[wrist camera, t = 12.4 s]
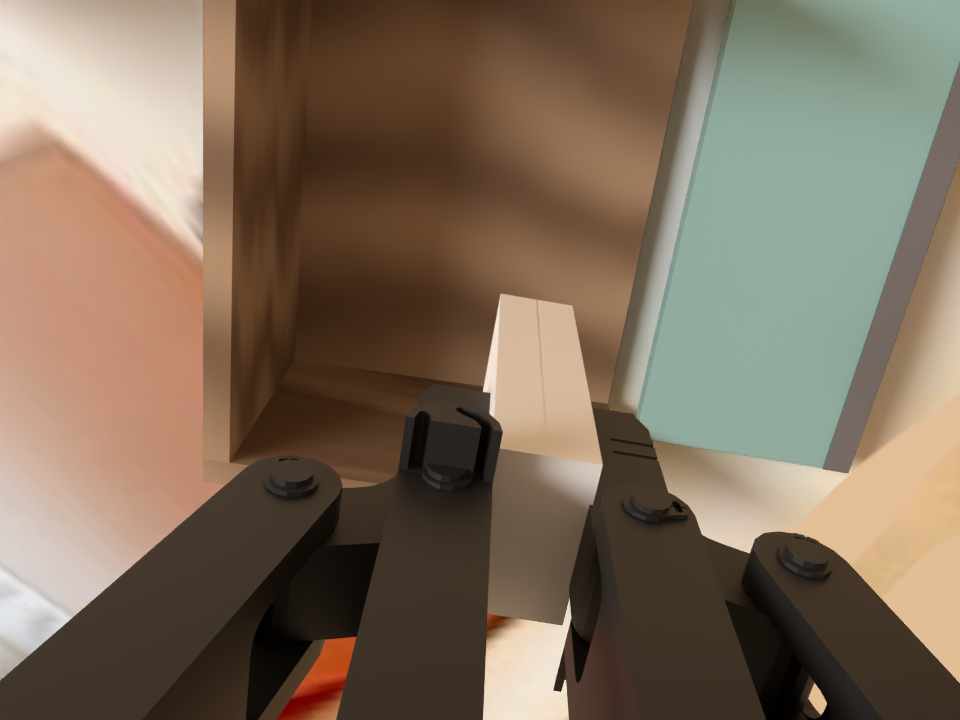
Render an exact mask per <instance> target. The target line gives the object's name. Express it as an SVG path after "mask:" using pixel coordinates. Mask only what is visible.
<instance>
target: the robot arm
mask: <svg viewBox="0 0 960 720" xmlns="http://www.w3.org/2000/svg"><path fill="white" fill-rule="evenodd" d="M342 486H343V485H342V482H341V479H340V475H339V474H338V473H337V472H336V471H334V470H333V469H332V468H331V467H330V466H329V465H326V464H324V463H322V462H319V461H317V460H315V459H311V458H305V457H301V456H296V455H290V456H287V455H282V456H274V457H270V458H266V459H262V460H258V461H257V462H255V463H253V464H251V465H249V466H248V467H246V468H245V469H244V470H242V471H241V472H240V473H239V474H238V475H237V476H235V477H234V478H233V479H232V480H231V481H230V482H229V483H227V484H226V485H225V486H224V487H223V488H222V489H221V490H219V491H218V492H217V493H216V494H215V495H214V496H212V497H211V498H210V499H209V500H208V501H207V502H206V503H204V504H203V505H202V506H201V507H200V508H199V509H197V510H196V511H195V512H194V513H193V514H192V515H191V516H189V517H188V518H187V519H186V520H185V521H184V522H182V523H181V524H180V525H179V526H178V527H177V528H176V529H174V530H173V531H172V532H171V533H170V534H169V535H168V536H166V537H165V538H164V539H163V540H162V541H161V542H159V543H158V544H157V545H156V546H155V547H154V548H153V549H151V550H150V551H149V552H148V553H147V554H146V555H144V556H143V557H142V558H141V559H140V560H139V561H138V562H136V563H135V564H134V565H133V566H132V567H131V568H130V569H128V570H127V571H126V572H125V573H124V574H123V575H121V576H120V577H119V578H118V579H117V580H116V581H115V582H113V583H112V584H111V585H110V586H109V587H108V588H106V589H105V590H104V591H103V592H102V593H101V594H100V595H98V596H97V597H96V598H95V599H94V600H93V601H91V602H90V603H89V604H88V605H87V606H86V607H85V608H83V609H82V610H81V611H80V612H79V613H78V614H77V615H75V616H74V617H73V618H72V619H71V620H70V621H68V622H67V623H66V624H65V625H64V626H63V627H62V628H60V629H59V630H58V631H57V632H56V633H55V634H53V635H52V636H51V637H50V638H49V639H48V640H47V641H45V642H44V643H43V644H42V645H41V646H40V647H39V648H37V649H36V650H35V651H34V652H33V653H32V654H30V655H29V656H28V657H27V658H26V659H25V660H24V661H22V662H21V663H20V664H19V665H18V666H17V667H15V668H14V669H13V670H12V671H11V672H10V673H9V674H7V675H6V676H5V677H4V678H3V679H2V680H0V720H276V719H277V718H278V716H279V715H280V713H281V712H282V710H283V709H284V707H285V706H286V704H287V703H288V702H289V700H290V699H291V697H292V696H293V694H294V693H295V691H296V690H297V688H298V687H299V685H300V684H301V682H302V681H303V679H304V678H305V676H306V675H307V673H308V672H309V670H310V669H311V668H312V666H313V665H314V663H315V662H316V660H317V659H318V657H319V656H320V653H321V651H322V648H323V645H324V641H325V639H336V638H347V637H357V638H356V642H355V646H354V650H353V654H352V658H351V662H350V666H349V670H348V674H347V678H346V682H345V687H344V691H343V695H342V699H341V703H340V707H339V711H338V715H337V719H336V720H483V704H484V680H485V656H486V633H487V614H493V615H500V616H506V617H513V618H519V619H525V620H532V621H538V622H544V623H551V624H557V625H563V621H564V617H565V613H566V609H567V605H568V601H569V597H570V606H571V617H572V618H571V622H570V626H569V630H568V634H567V638H566V642H565V646H564V650H563V653H562V657H561V661H560V665H559V669H558V673H557V677H556V681H555V686H554V690H553V691H560V692H561V690H562V687H563V683H564V680H566V683H567V697H568V711H569V720H960V683H959V682H958V681H957V680H956V679H955V678H954V677H953V676H952V674H951V673H950V672H949V671H948V670H947V669H946V668H945V667H944V666H943V665H942V664H941V663H940V662H939V661H938V659H937V658H936V657H935V656H934V655H933V654H932V653H931V652H930V651H929V650H928V649H927V648H926V646H925V645H924V644H923V643H922V642H921V641H920V640H919V639H918V638H917V637H916V636H915V635H914V634H913V633H912V631H911V630H910V629H909V628H908V627H907V626H906V625H905V624H904V623H903V622H902V621H901V620H900V618H899V617H898V616H897V615H896V614H895V613H894V612H893V611H892V610H891V609H890V608H889V607H888V606H887V604H886V603H885V602H884V601H883V600H882V599H881V598H880V597H879V596H878V595H877V594H876V593H875V591H874V590H873V589H872V588H871V587H870V586H869V585H868V584H867V583H866V582H865V581H864V580H863V579H862V577H861V576H860V575H859V574H858V573H857V572H856V571H855V570H854V569H853V568H852V567H851V566H850V565H849V563H847V561H845V560H844V559H843V558H842V557H840V556H839V555H838V554H837V553H836V552H835V551H833V550H832V549H830V548H828V547H826V546H824V545H823V544H821V543H819V542H818V541H817V540H815V539H812V538H810V537H807V538H806V537H805V536H804V535H800V534H796V533H785V532H770V533H764V534H762V535H761V536H759V537H758V538H756V539H755V541H754V544H753V547H752V549H751V552H750V554H749V553H746V552H743V551H740V550H738V549H735V548H732V547H729V546H726V545H723V544H721V543H718V542H716V541H713V540H711V539H709V538H706V537H705V536H703V535H702V534H701V531H700V528H699V526H698V523H697V520H696V517H695V515H694V514H693V512H692V511H691V509H690V508H689V506H688V505H687V504H685V503H684V502H683V501H681V500H680V499H679V498H678V497H676V496H674V495H672V494H670V493H668V490H667V487H666V484H665V481H664V478H663V474H662V471H661V468H660V465H659V462H658V461H657V455H656V452H655V449H654V448H653V443H652V439H651V436H650V433H649V430H648V429H647V428H646V427H645V426H644V425H643V424H642V423H641V422H640V421H639V420H638V419H637V418H636V417H635V416H634V415H633V414H628V413H622V412H616V411H610V410H604V409H598V408H592V406H591V400H590V395H589V390H588V385H587V379H586V374H585V369H584V363H583V358H582V353H581V348H580V342H579V337H578V332H577V327H576V321H575V316H574V311H573V306H572V305H566V304H560V303H554V302H548V301H542V300H536V299H530V298H524V297H518V296H512V295H506V294H500V300H499V305H498V311H497V316H496V322H495V327H494V333H493V338H492V344H491V349H490V355H489V360H488V366H487V371H486V377H485V382H484V388H483V392H482V391H475V390H469V389H463V388H457V387H451V386H445V385H439V384H434V385H433V386H431V387H430V388H428V389H427V390H426V391H424V392H423V393H421V394H420V397H419V401H418V405H417V406H416V407H414V408H412V409H411V410H410V411H409V413H408V414H407V415H406V419H405V426H404V433H403V440H402V447H401V454H400V461H399V468H398V472H397V474H396V475H395V476H394V477H393V478H391V479H389V480H387V481H385V482H383V483H380V484H376V485H372V486H366V487H356V488H342ZM814 682H815V684H816V685H817V687H818V688H819V689H820V690H821V692H822V694H823V696H824V697H825V700H826V702H827V706H826V708H825V710H824V712H823V714H822V715H820V714H819V713H818V711H816V709H815V708H814V707H813V705H812V704H811V702H810V701H809V699H808V697H809V695H810V692H811V690H812V687H813V685H814Z"/></svg>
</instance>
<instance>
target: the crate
mask: <svg viewBox="0 0 960 720" xmlns="http://www.w3.org/2000/svg"><path fill="white" fill-rule="evenodd" d="M693 1H694V0H203V481H204V482H211V483H218V484H225V485H226V484H227V483H229V482H230V481H231V480H232V479H233V478H234V477H235V476H237V475H238V474H239V473H240V472H241V471H242V470H244V469H245V468H246V467H248V466H249V465H251V464H253V463H255V462H257V461H258V460H262V459H266V458H270V457H274V456H282V455H287V456H290V455H296V456H301V457H305V458H311V459H315V460H317V461H319V462H322V463H324V464H326V465H329V466H330V467H331V468H332V469H333V470H334V471H336V472H337V473H338V474H339V475H340V479H341V482H342V485H343V486H342V488H356V487H366V486H372V485H376V484H380V483H383V482H385V481H387V480H389V479H391V478H393V477H394V476H395V475H396V474H397V472H398V468H399V461H400V454H401V447H402V440H403V433H404V426H405V419H406V415H407V414H408V413H409V411H410V410H411V409H412V408H414V407H416V406H417V405H418V401H419V397H420V394H421V393H423V392H424V391H426V390H427V389H428V388H430V387H431V386H433V385H434V384H439V385H445V386H451V387H457V388H463V389H469V390H475V391H482V392H483V388H484V382H485V377H486V371H487V366H488V360H489V355H490V349H491V344H492V338H493V333H494V327H495V322H496V316H497V311H498V305H499V300H500V294H506V295H512V296H518V297H524V298H530V299H536V300H542V301H548V302H554V303H560V304H566V305H572V306H573V311H574V316H575V321H576V327H577V332H578V337H579V342H580V348H581V353H582V358H583V363H584V369H585V374H586V379H587V385H588V390H589V395H590V400H591V406H592V408H598V409H604V410H609V408H608V400H609V395H610V391H611V386H612V381H613V377H614V372H615V367H616V362H617V358H618V353H619V348H620V344H621V339H622V334H623V330H624V325H625V320H626V316H627V311H628V306H629V301H630V297H631V292H632V287H633V283H634V278H635V273H636V269H637V264H638V259H639V255H640V250H641V245H642V240H643V236H644V231H645V226H646V222H647V217H648V212H649V208H650V203H651V198H652V194H653V189H654V184H655V179H656V175H657V170H658V165H659V161H660V156H661V151H662V147H663V142H664V137H665V133H666V128H667V123H668V118H669V114H670V109H671V104H672V100H673V95H674V90H675V86H676V81H677V76H678V72H679V67H680V62H681V57H682V53H683V48H684V43H685V39H686V34H687V29H688V25H689V20H690V15H691V11H692V6H693Z"/></svg>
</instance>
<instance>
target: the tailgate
mask: <svg viewBox="0 0 960 720" xmlns="http://www.w3.org/2000/svg"><path fill="white" fill-rule="evenodd" d="M959 158H960V0H731V5H730V9H729V13H728V18H727V22H726V26H725V31H724V35H723V39H722V44H721V48H720V53H719V57H718V61H717V66H716V70H715V74H714V79H713V83H712V87H711V92H710V96H709V100H708V105H707V109H706V114H705V118H704V122H703V127H702V131H701V135H700V140H699V144H698V148H697V153H696V157H695V161H694V166H693V170H692V175H691V179H690V183H689V188H688V192H687V196H686V201H685V205H684V209H683V214H682V218H681V222H680V227H679V231H678V236H677V240H676V244H675V249H674V253H673V257H672V262H671V266H670V270H669V275H668V279H667V283H666V288H665V292H664V297H663V301H662V305H661V310H660V314H659V318H658V323H657V327H656V331H655V336H654V340H653V344H652V349H651V353H650V357H649V362H648V366H647V371H646V375H645V379H644V384H643V388H642V392H641V397H640V401H639V405H638V410H637V414H636V418H637V419H638V420H639V421H640V422H641V423H642V424H643V425H644V426H645V427H646V428H647V429H648V430H649V433H650V436H651V439H652V440H655V441H661V442H667V443H673V444H679V445H686V446H692V447H698V448H704V449H710V450H716V451H722V452H728V453H734V454H740V455H746V456H752V457H758V458H764V459H770V460H776V461H782V462H788V463H794V464H800V465H807V466H813V467H819V468H823V469H825V470H831V471H837V472H843V473H849V470H850V467H851V464H852V461H853V458H854V456H855V453H856V450H857V447H858V444H859V441H860V439H861V436H862V433H863V430H864V427H865V424H866V422H867V419H868V416H869V413H870V410H871V407H872V405H873V402H874V399H875V396H876V393H877V390H878V388H879V385H880V382H881V379H882V376H883V373H884V371H885V368H886V365H887V362H888V359H889V356H890V354H891V351H892V348H893V345H894V342H895V339H896V337H897V334H898V331H899V328H900V325H901V322H902V320H903V317H904V314H905V311H906V308H907V305H908V303H909V300H910V297H911V294H912V291H913V288H914V286H915V283H916V280H917V277H918V274H919V271H920V269H921V266H922V263H923V260H924V257H925V254H926V252H927V249H928V246H929V243H930V240H931V237H932V235H933V232H934V229H935V226H936V223H937V220H938V218H939V215H940V212H941V209H942V206H943V203H944V201H945V198H946V195H947V192H948V189H949V186H950V184H951V181H952V178H953V175H954V172H955V169H956V167H957V164H958V161H959Z"/></svg>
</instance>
